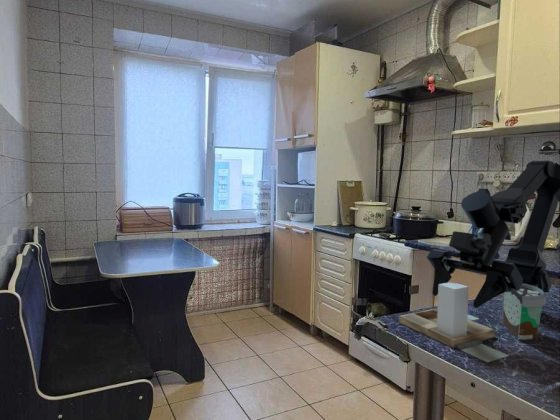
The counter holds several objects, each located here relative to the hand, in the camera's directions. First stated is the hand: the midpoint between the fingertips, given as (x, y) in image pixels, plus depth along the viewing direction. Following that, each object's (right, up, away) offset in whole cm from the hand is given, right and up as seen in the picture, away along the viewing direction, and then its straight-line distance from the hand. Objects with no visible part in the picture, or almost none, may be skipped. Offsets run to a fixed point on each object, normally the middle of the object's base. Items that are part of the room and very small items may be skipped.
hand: (453, 300), depth 82 cm
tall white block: (0, -8, +1) cm, 8 cm away
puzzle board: (+5, -8, +4) cm, 10 cm away
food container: (+17, -8, +3) cm, 19 cm away
